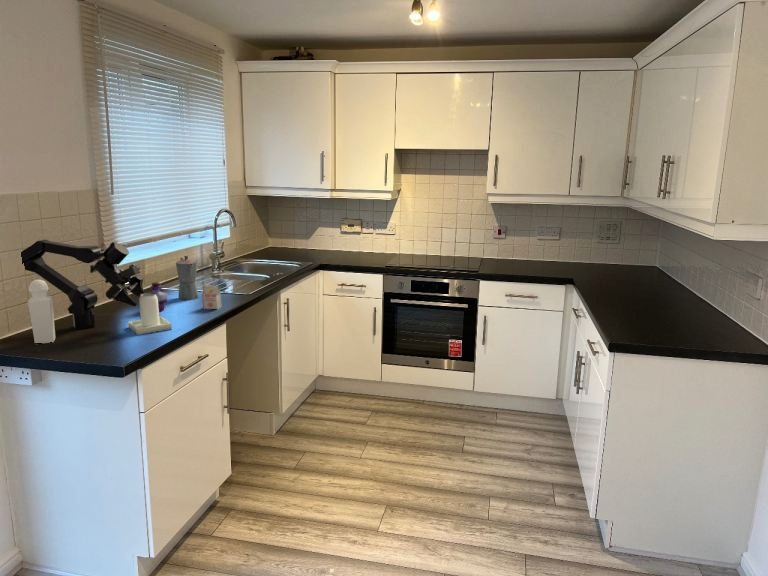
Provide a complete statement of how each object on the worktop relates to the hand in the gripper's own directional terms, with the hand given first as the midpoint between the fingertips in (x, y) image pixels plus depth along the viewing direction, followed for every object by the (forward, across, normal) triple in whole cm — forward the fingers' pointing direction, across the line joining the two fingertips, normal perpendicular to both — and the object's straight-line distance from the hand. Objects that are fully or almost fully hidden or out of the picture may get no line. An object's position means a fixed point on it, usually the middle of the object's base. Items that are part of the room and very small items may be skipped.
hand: (141, 302), depth 213 cm
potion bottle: (+2, +27, +12) cm, 30 cm away
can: (+8, +1, +5) cm, 10 cm away
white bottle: (-12, -18, +26) cm, 34 cm away
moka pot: (+5, +50, +10) cm, 51 cm away
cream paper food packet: (+18, +32, -4) cm, 37 cm away
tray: (+9, 0, +5) cm, 10 cm away
